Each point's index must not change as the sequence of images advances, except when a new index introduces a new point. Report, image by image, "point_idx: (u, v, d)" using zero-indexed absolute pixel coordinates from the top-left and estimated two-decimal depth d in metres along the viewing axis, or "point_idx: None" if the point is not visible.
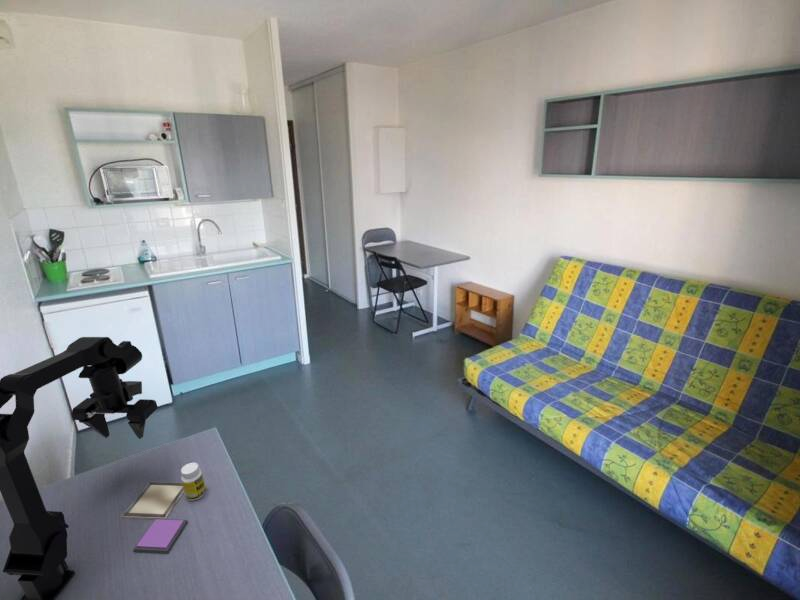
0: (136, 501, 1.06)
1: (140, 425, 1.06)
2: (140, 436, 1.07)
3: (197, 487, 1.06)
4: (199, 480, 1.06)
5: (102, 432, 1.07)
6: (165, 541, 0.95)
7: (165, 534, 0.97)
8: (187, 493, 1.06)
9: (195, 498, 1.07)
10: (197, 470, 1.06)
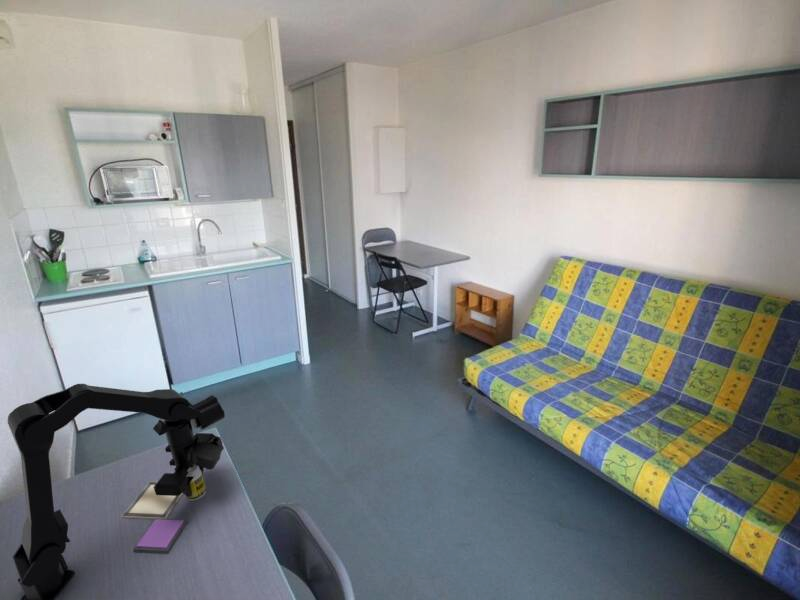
0: (136, 501, 1.06)
1: None
2: (185, 494, 1.05)
3: (197, 487, 1.06)
4: (199, 480, 1.06)
5: None
6: (165, 541, 0.95)
7: (165, 534, 0.97)
8: None
9: (195, 498, 1.07)
10: (197, 470, 1.06)
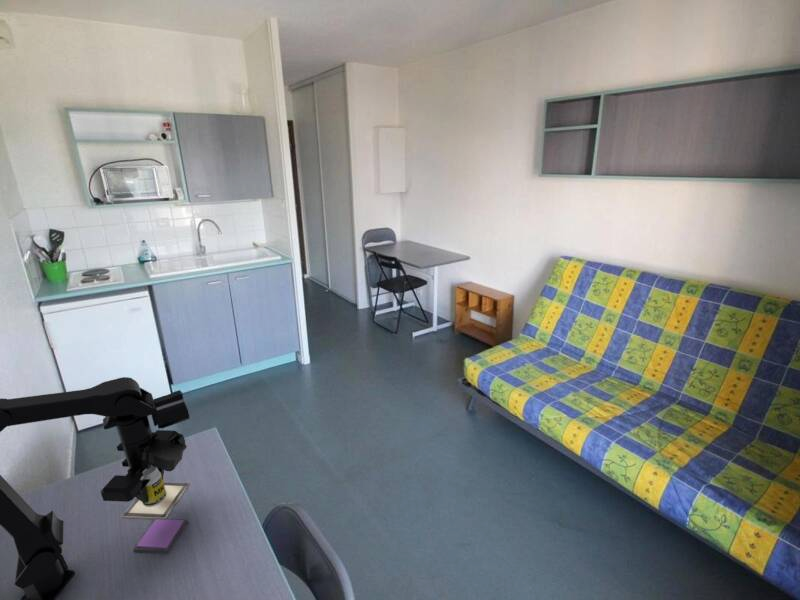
0: (136, 501, 1.06)
1: None
2: (141, 500, 0.92)
3: (155, 492, 0.93)
4: (157, 484, 0.93)
5: None
6: (165, 541, 0.95)
7: (165, 534, 0.97)
8: None
9: (153, 504, 0.93)
10: (155, 472, 0.92)
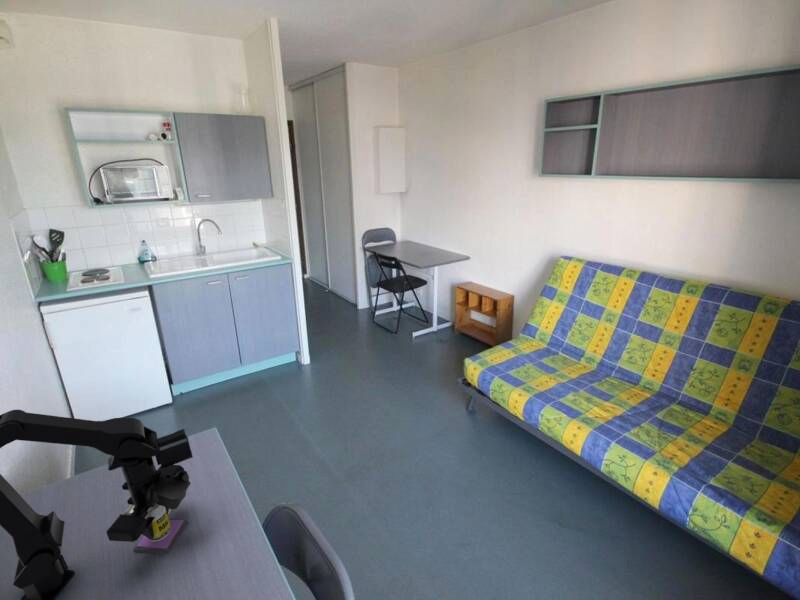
0: None
1: None
2: (146, 536, 0.93)
3: (160, 527, 0.94)
4: (161, 519, 0.94)
5: None
6: (165, 541, 0.95)
7: None
8: None
9: (158, 539, 0.95)
10: (160, 508, 0.94)
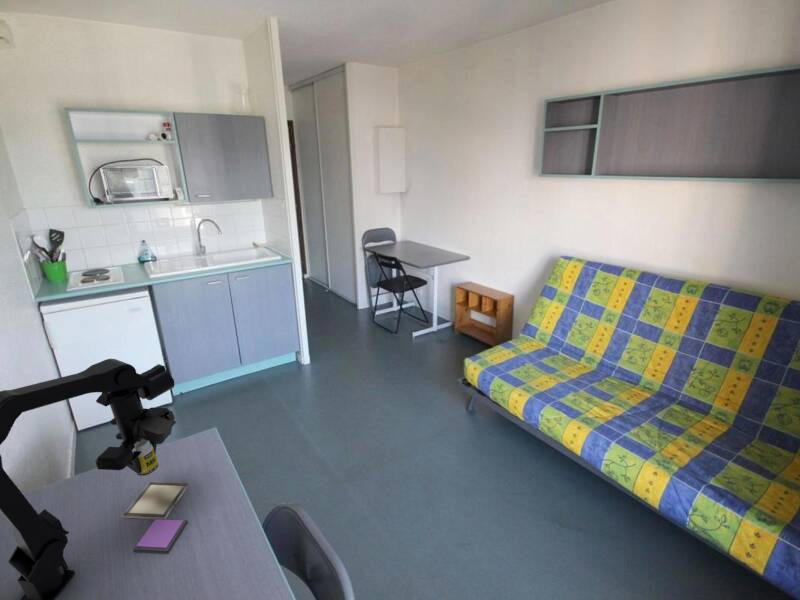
0: (136, 501, 1.06)
1: (129, 462, 0.97)
2: (134, 471, 0.99)
3: (147, 463, 1.00)
4: (149, 456, 1.00)
5: None
6: (165, 541, 0.95)
7: (165, 534, 0.97)
8: None
9: (145, 474, 1.00)
10: (147, 445, 1.00)
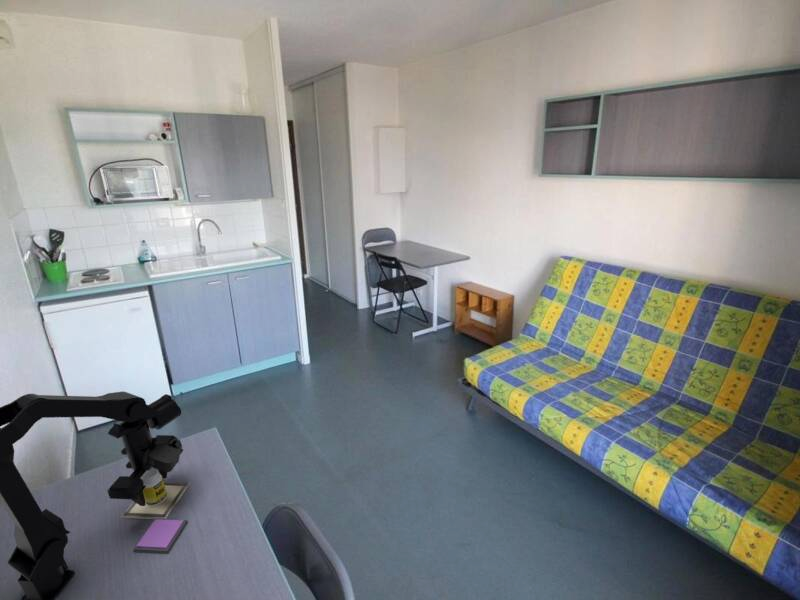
0: None
1: None
2: None
3: (157, 493, 1.04)
4: (158, 486, 1.04)
5: None
6: (165, 541, 0.95)
7: (165, 534, 0.97)
8: (146, 498, 1.04)
9: (155, 504, 1.05)
10: (156, 475, 1.04)
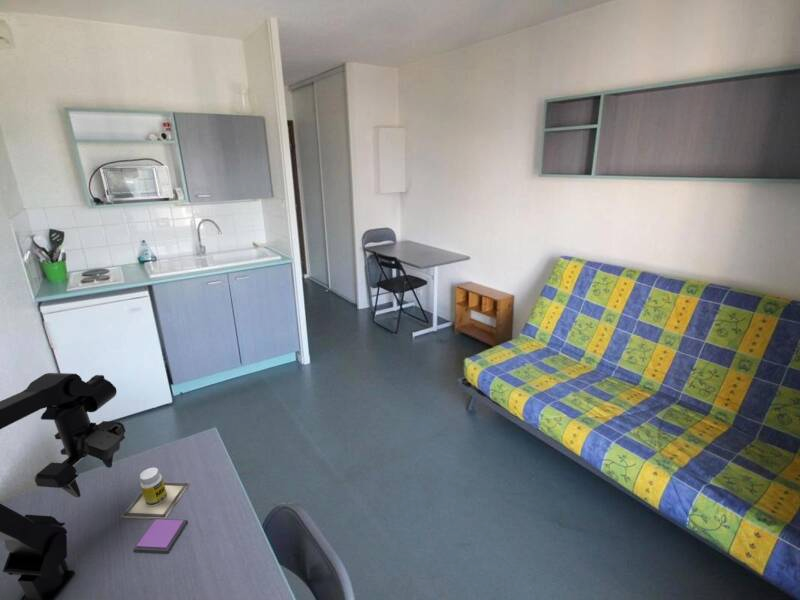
0: (136, 501, 1.06)
1: (66, 486, 0.92)
2: None
3: (157, 493, 1.04)
4: (158, 486, 1.04)
5: (102, 460, 1.02)
6: (165, 541, 0.95)
7: (165, 534, 0.97)
8: (146, 499, 1.04)
9: (155, 504, 1.05)
10: (156, 475, 1.04)
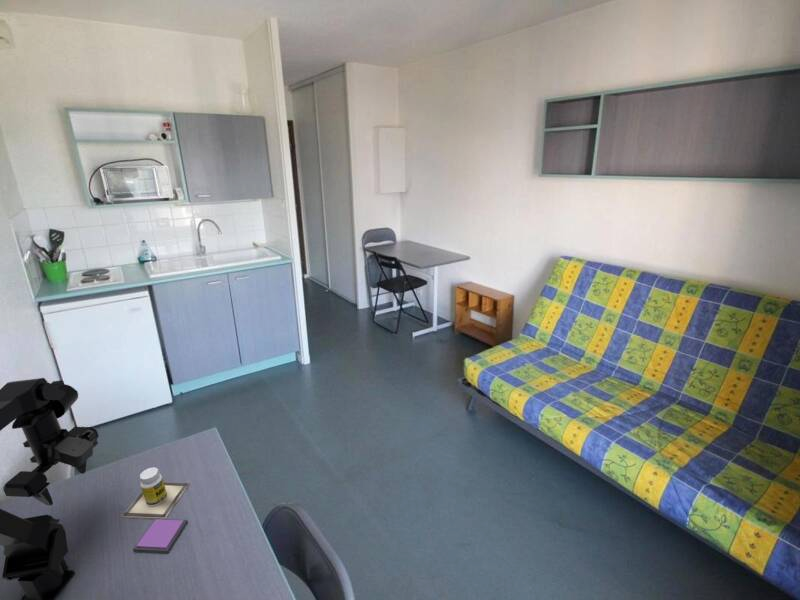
0: (136, 501, 1.06)
1: (37, 494, 0.89)
2: (44, 503, 0.91)
3: (157, 493, 1.04)
4: (158, 486, 1.04)
5: None
6: (165, 541, 0.95)
7: (165, 534, 0.97)
8: (146, 499, 1.04)
9: (155, 504, 1.05)
10: (157, 475, 1.04)
